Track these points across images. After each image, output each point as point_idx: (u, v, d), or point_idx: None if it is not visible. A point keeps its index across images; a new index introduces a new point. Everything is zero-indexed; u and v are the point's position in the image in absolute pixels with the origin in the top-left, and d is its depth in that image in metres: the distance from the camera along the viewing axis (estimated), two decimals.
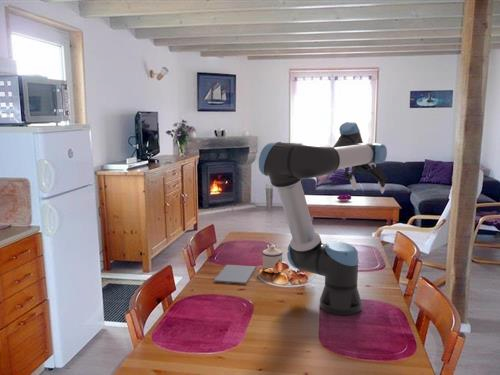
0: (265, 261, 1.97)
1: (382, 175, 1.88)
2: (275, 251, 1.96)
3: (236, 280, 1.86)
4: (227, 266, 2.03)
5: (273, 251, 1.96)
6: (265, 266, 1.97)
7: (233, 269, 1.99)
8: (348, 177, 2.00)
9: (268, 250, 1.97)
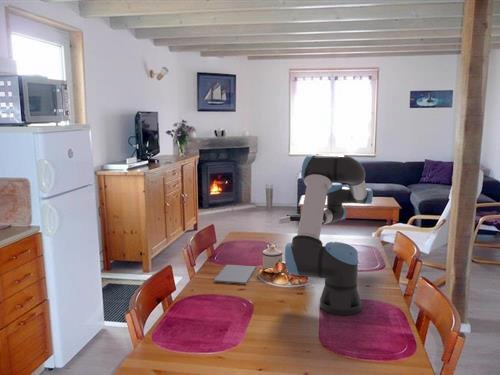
0: (265, 261, 1.97)
1: None
2: (275, 251, 1.96)
3: (236, 280, 1.86)
4: (227, 266, 2.03)
5: (273, 251, 1.96)
6: (265, 266, 1.97)
7: (233, 269, 1.99)
8: (290, 215, 2.14)
9: (268, 250, 1.97)
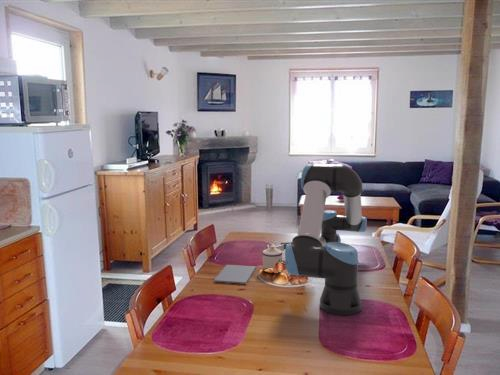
0: (265, 261, 1.97)
1: None
2: (275, 251, 1.96)
3: (236, 280, 1.86)
4: (227, 266, 2.03)
5: (273, 251, 1.96)
6: (265, 266, 1.97)
7: (233, 269, 1.99)
8: (284, 244, 2.15)
9: (268, 250, 1.97)
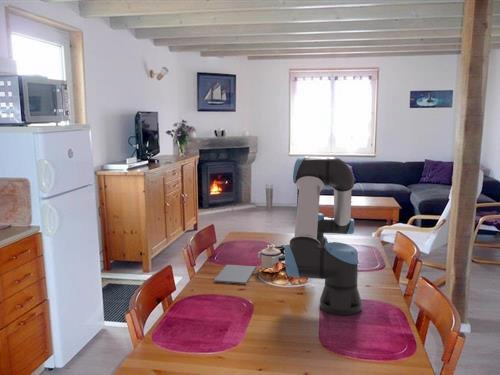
0: (263, 260, 1.97)
1: None
2: (273, 251, 1.97)
3: (236, 280, 1.86)
4: (227, 266, 2.03)
5: (271, 251, 1.96)
6: (263, 265, 1.97)
7: (233, 269, 1.99)
8: None
9: (266, 249, 1.98)
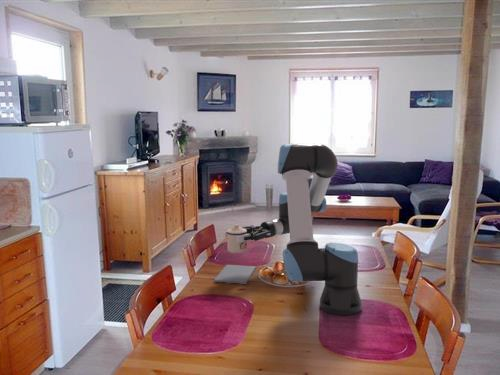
0: (229, 239, 1.91)
1: (260, 235, 1.91)
2: (239, 230, 1.90)
3: (236, 280, 1.86)
4: (227, 266, 2.03)
5: (237, 230, 1.90)
6: (229, 245, 1.91)
7: (233, 269, 1.99)
8: None
9: (232, 229, 1.91)
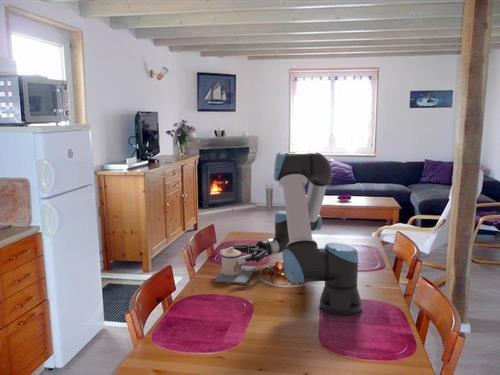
0: (223, 262, 1.92)
1: (260, 256, 1.91)
2: (233, 252, 1.91)
3: (236, 280, 1.86)
4: None
5: (231, 252, 1.91)
6: (223, 268, 1.93)
7: None
8: (234, 246, 2.02)
9: (226, 251, 1.93)
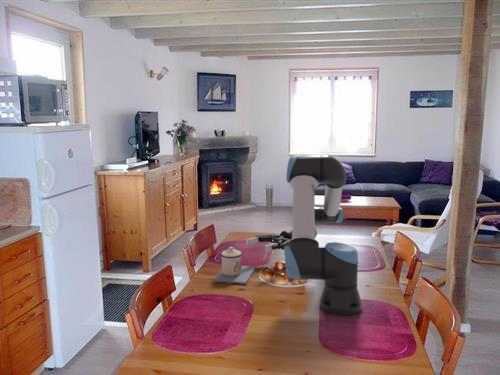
0: (223, 262, 1.92)
1: (286, 244, 1.99)
2: (233, 252, 1.91)
3: (236, 280, 1.86)
4: None
5: (231, 252, 1.91)
6: (223, 267, 1.93)
7: None
8: (259, 236, 2.10)
9: (226, 251, 1.93)
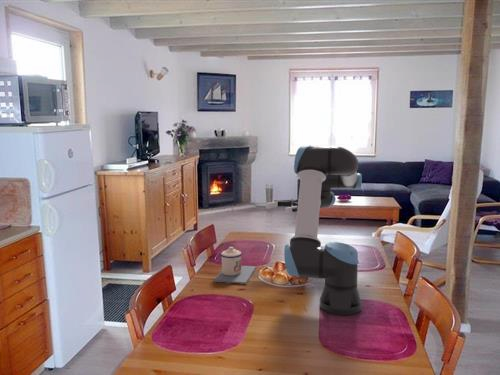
0: (223, 262, 1.92)
1: None
2: (233, 252, 1.92)
3: (236, 280, 1.86)
4: None
5: (231, 252, 1.91)
6: (223, 267, 1.93)
7: None
8: (278, 201, 2.10)
9: (226, 251, 1.93)
